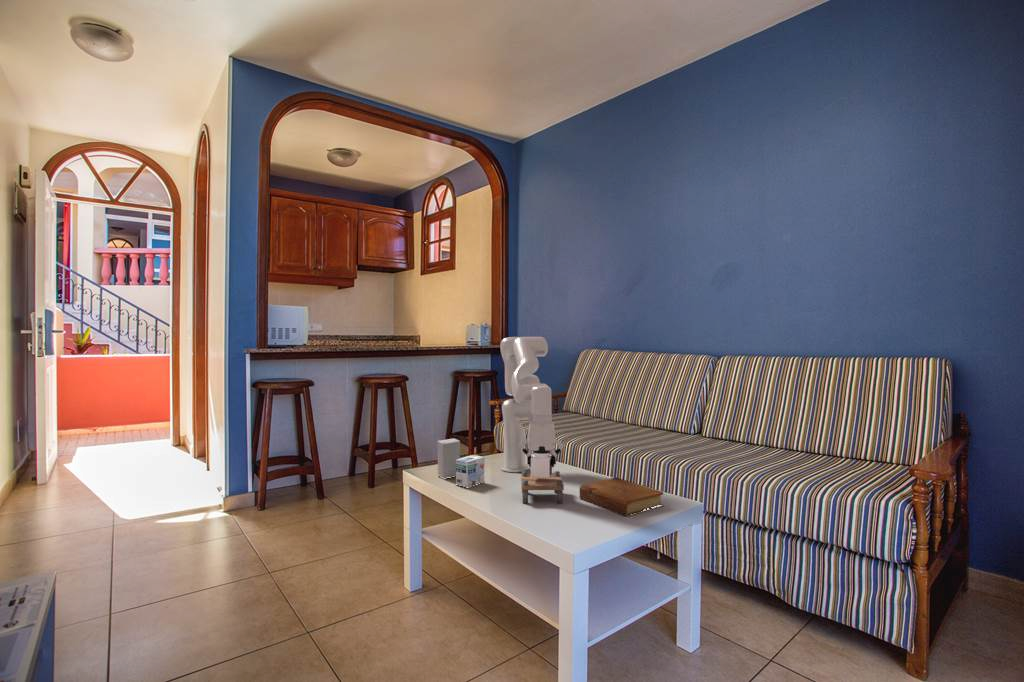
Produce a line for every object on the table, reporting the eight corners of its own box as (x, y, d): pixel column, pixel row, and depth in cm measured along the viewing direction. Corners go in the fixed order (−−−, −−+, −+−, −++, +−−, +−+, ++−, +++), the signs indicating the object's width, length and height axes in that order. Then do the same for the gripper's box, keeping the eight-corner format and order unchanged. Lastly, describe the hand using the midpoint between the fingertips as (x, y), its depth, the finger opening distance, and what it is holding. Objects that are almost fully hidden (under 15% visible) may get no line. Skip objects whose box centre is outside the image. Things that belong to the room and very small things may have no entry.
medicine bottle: (550, 478, 192) (550, 445, 191) (530, 477, 193) (530, 444, 193) (552, 473, 199) (552, 441, 198) (533, 472, 200) (533, 441, 200)
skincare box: (454, 473, 230) (454, 437, 230) (461, 477, 224) (461, 440, 224) (436, 476, 226) (436, 439, 225) (443, 480, 220) (443, 442, 219)
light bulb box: (467, 488, 207) (467, 461, 207) (455, 486, 212) (455, 459, 211) (485, 482, 216) (485, 456, 216) (472, 480, 220) (472, 454, 220)
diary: (579, 501, 194) (579, 485, 194) (616, 492, 204) (616, 477, 204) (625, 518, 175) (625, 500, 175) (663, 507, 185) (663, 491, 185)
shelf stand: (521, 491, 203) (521, 471, 203) (560, 491, 203) (560, 470, 203) (521, 504, 188) (521, 481, 188) (563, 504, 188) (563, 481, 188)
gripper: (518, 421, 192) (518, 469, 192) (565, 420, 192) (565, 469, 192) (517, 417, 199) (518, 464, 199) (563, 417, 199) (564, 464, 199)
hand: (541, 466), depth 196 cm, fingers closed on medicine bottle, 7 cm apart
